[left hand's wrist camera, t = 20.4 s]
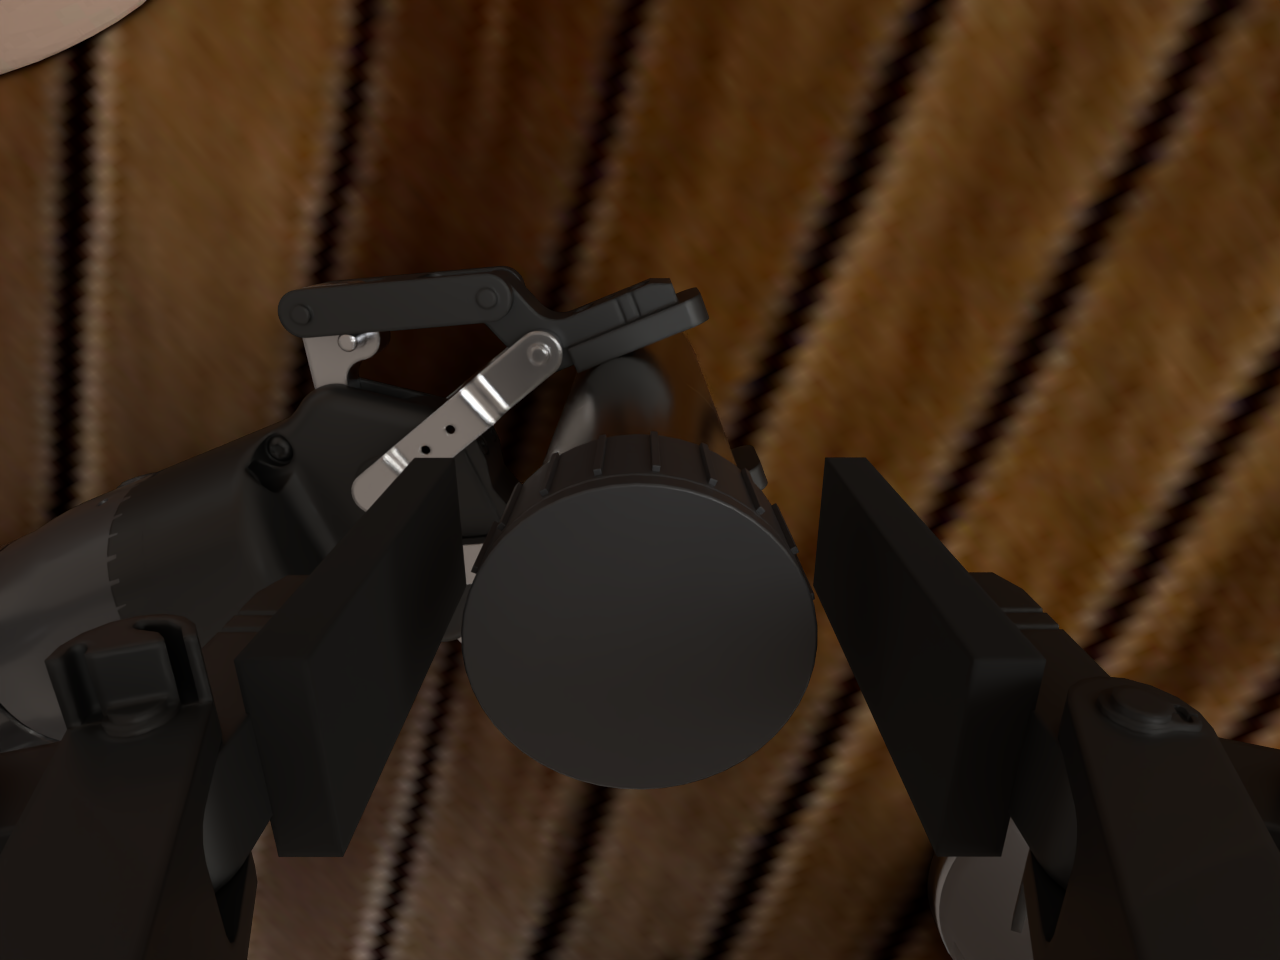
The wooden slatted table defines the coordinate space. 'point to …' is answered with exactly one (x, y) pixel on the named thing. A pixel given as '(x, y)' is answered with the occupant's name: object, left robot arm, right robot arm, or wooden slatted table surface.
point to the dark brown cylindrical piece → (642, 400)
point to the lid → (639, 615)
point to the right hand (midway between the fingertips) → (729, 386)
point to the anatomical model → (52, 26)
